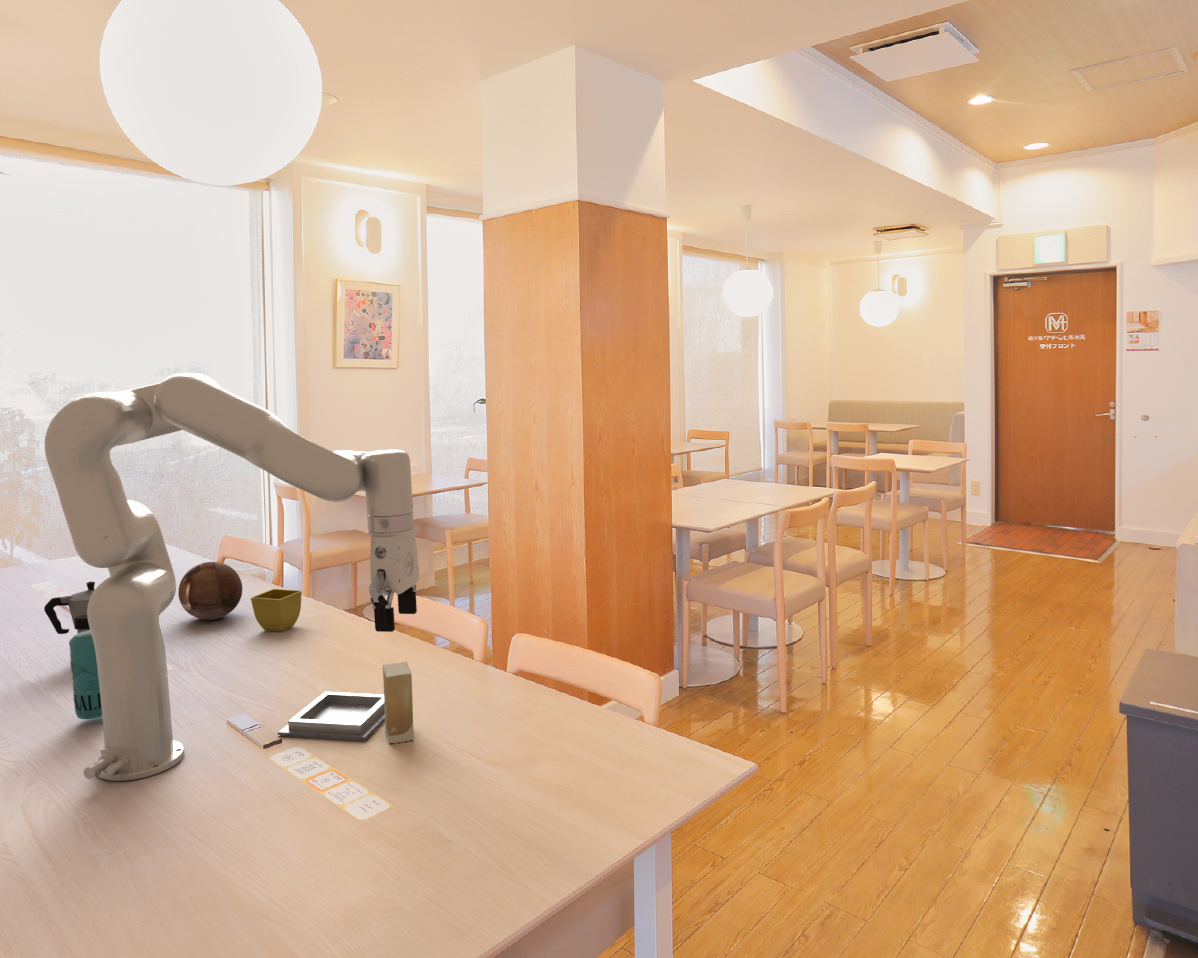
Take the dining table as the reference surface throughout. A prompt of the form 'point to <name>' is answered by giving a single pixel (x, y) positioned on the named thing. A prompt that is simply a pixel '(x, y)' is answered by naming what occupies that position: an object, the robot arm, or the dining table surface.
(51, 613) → the coffeepot
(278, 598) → the flower pot
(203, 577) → the wooden sphere
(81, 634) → the beverage bottle
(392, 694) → the skincare box
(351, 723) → the square metal tray
